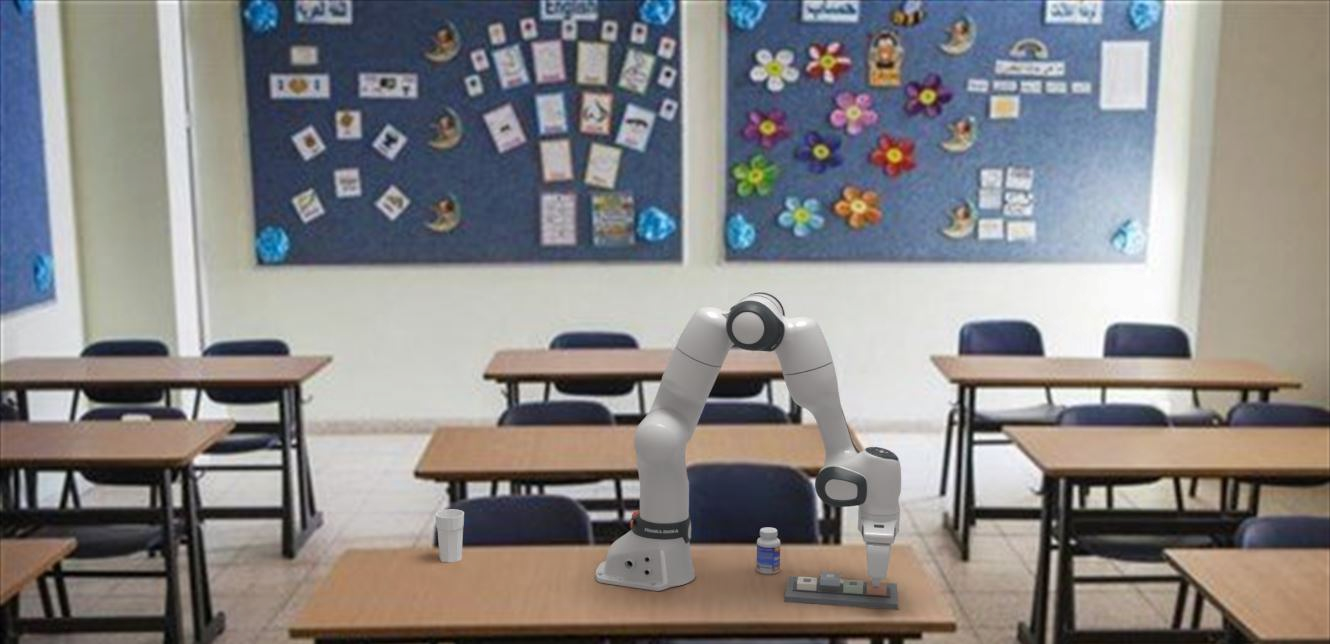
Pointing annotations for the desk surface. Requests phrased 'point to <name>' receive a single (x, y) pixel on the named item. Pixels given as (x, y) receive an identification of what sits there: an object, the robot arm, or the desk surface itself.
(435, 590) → the desk surface
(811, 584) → the cream key
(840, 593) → the keypad base
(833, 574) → the slate key
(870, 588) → the terracotta key
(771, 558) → the pill bottle
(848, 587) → the sage key
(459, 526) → the cup
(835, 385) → the robot arm
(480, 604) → the desk surface
